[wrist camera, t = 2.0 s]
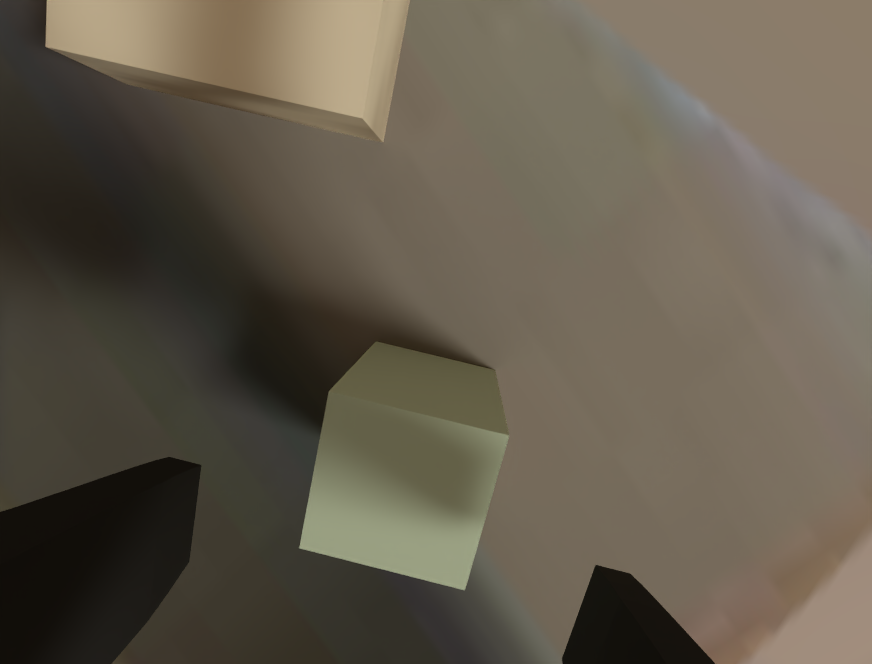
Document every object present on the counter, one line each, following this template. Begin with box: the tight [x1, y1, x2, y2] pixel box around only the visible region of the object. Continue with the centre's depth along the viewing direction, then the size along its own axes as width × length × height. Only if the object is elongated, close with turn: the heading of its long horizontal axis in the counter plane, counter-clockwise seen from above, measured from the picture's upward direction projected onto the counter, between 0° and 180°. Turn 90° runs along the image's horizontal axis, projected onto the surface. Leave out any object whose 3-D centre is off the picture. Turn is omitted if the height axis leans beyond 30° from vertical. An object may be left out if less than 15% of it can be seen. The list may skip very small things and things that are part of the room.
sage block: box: [300, 341, 509, 590], centre depth 12 cm, size 4×4×5 cm
